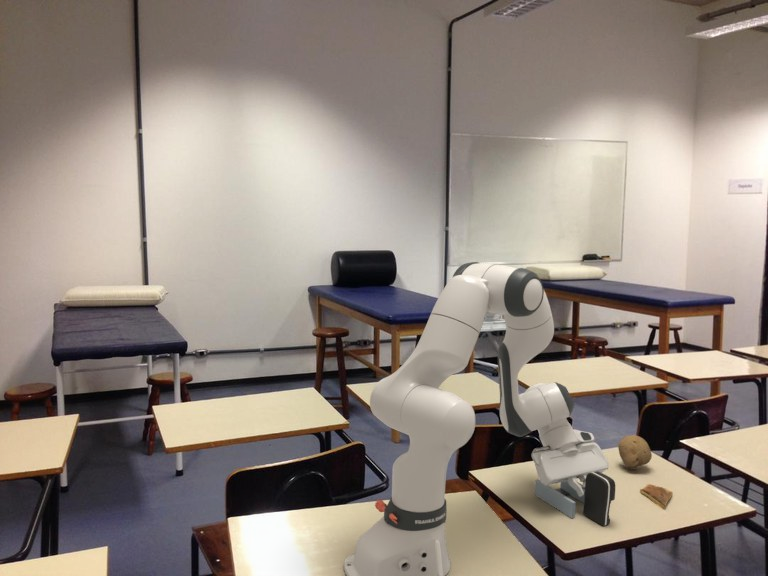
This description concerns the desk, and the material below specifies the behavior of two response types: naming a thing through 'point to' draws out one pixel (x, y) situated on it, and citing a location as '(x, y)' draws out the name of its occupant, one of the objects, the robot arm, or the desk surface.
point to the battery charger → (598, 497)
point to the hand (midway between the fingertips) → (585, 494)
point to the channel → (559, 496)
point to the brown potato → (634, 451)
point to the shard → (657, 494)
